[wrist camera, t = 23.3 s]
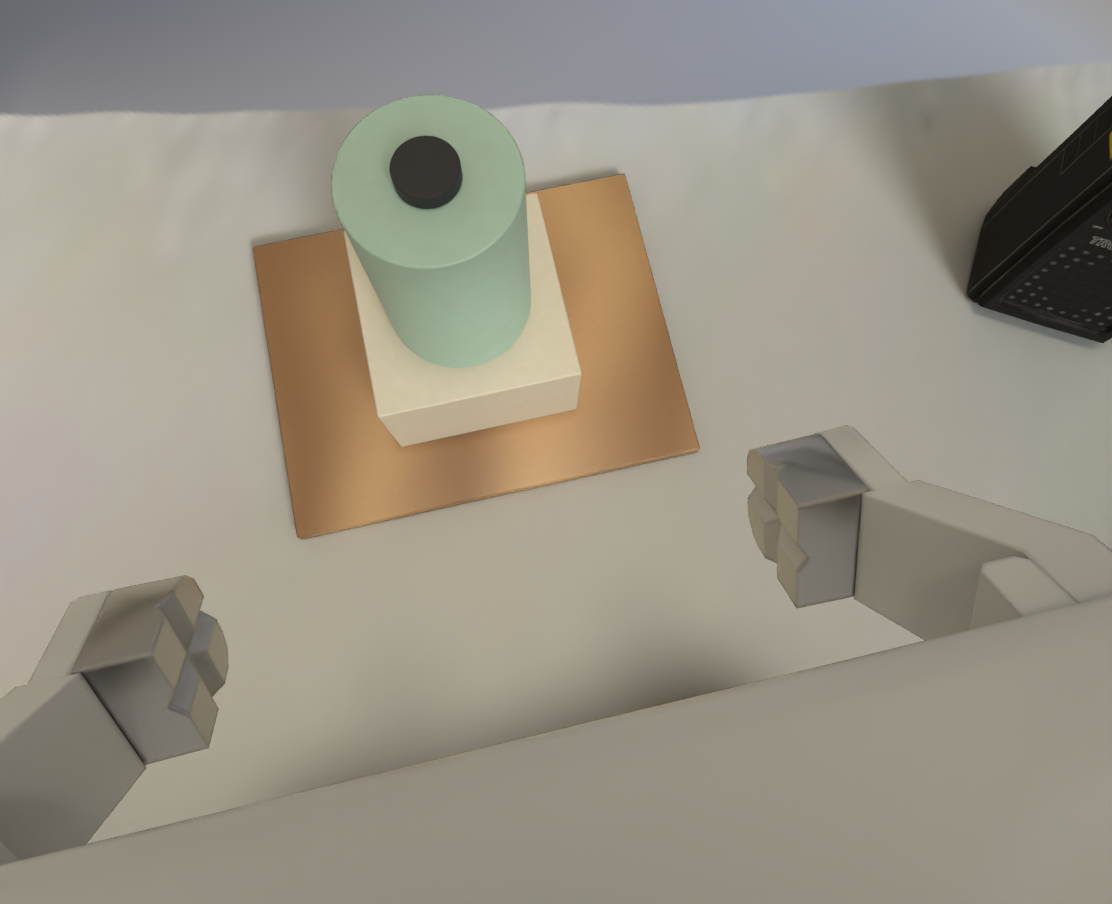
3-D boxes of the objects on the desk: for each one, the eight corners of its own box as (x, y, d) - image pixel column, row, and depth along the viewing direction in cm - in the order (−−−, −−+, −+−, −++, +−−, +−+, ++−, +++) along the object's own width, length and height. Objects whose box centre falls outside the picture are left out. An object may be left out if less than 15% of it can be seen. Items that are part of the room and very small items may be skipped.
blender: (400, 447, 35) (304, 326, 21) (370, 283, 37) (262, 71, 23) (576, 409, 35) (596, 266, 21) (538, 249, 37) (533, 21, 23)
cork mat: (301, 539, 35) (296, 538, 34) (256, 252, 38) (251, 246, 37) (697, 452, 36) (700, 448, 35) (623, 179, 39) (624, 172, 38)
